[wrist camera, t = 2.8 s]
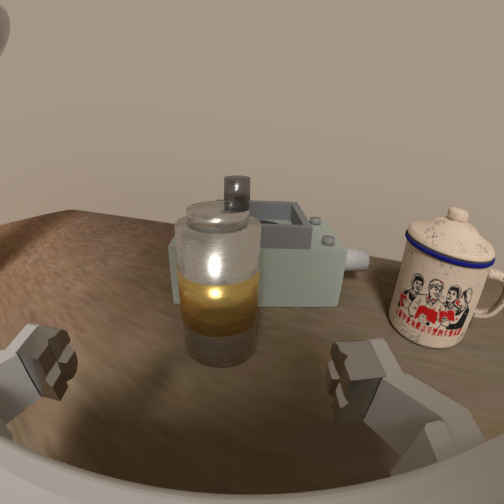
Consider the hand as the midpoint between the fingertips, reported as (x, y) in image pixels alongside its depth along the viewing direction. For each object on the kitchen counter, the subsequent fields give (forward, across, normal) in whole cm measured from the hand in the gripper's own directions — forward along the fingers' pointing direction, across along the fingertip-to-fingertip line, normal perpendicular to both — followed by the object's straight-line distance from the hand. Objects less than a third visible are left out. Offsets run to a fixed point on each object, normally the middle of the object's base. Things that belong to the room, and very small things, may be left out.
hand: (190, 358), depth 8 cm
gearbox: (+22, -5, +10) cm, 25 cm away
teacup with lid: (+13, -21, +10) cm, 27 cm away
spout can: (+12, 0, +10) cm, 16 cm away
